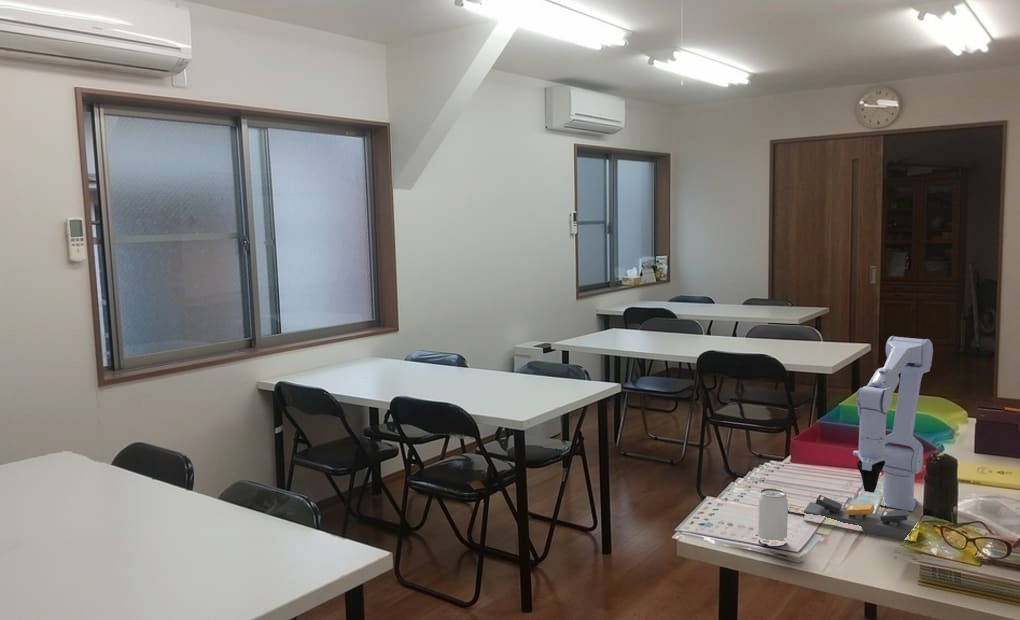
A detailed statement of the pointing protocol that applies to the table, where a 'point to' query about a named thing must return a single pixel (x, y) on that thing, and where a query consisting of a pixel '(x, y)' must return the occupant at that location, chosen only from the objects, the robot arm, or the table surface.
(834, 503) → the black rocker
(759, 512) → the can
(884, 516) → the black rocker
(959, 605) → the table surface
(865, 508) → the orange rocker
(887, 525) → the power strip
